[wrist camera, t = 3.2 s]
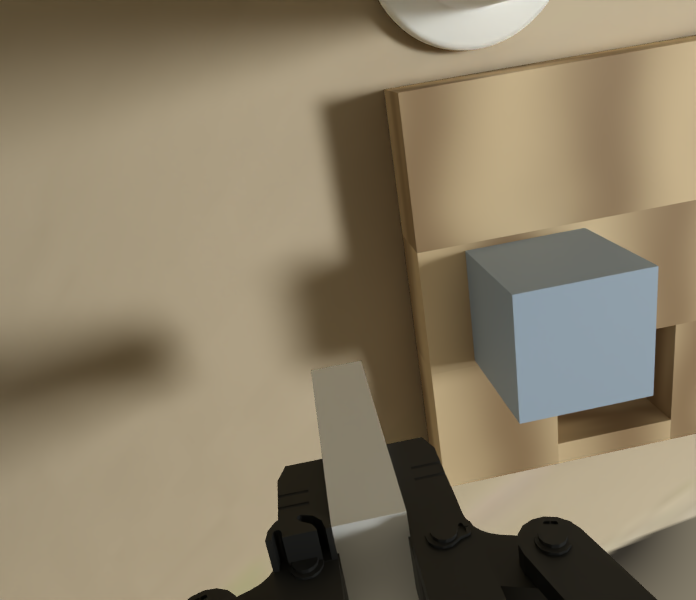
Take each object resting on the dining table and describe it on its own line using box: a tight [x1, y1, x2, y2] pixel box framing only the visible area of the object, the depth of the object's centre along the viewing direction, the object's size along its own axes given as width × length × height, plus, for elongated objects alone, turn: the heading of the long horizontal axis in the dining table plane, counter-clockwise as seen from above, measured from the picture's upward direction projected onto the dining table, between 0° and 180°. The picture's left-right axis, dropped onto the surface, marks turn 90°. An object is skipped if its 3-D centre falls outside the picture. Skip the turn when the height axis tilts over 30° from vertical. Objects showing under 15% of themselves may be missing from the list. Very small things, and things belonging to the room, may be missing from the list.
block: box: [465, 228, 658, 424], centre depth 21 cm, size 4×4×4 cm
